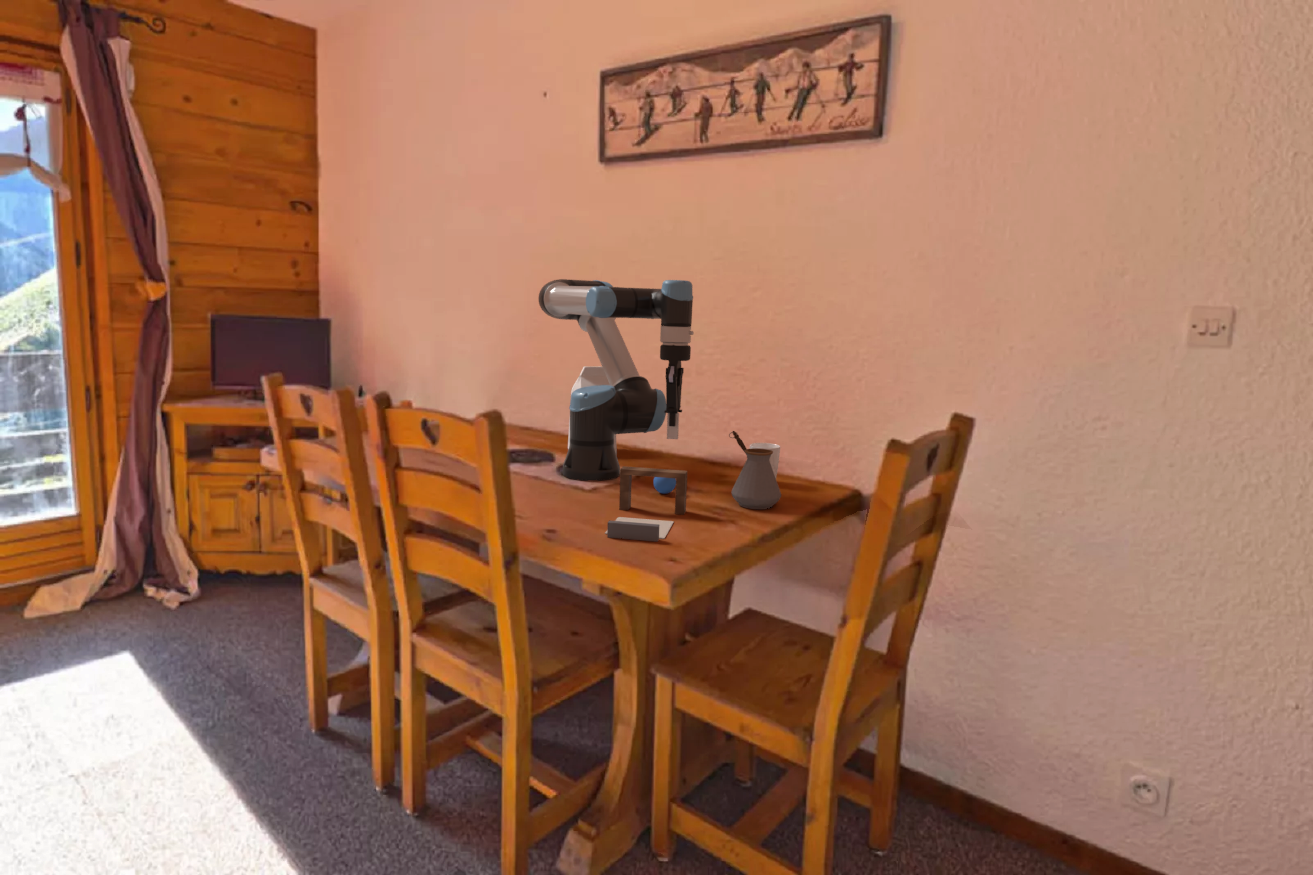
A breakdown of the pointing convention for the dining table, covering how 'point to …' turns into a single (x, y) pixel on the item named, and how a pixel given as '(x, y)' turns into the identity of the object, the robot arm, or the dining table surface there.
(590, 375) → the milk
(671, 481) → the ball
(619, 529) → the stopper wall
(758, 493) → the coffee pot
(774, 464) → the white cup
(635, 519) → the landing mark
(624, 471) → the bridge
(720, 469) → the dining table surface
